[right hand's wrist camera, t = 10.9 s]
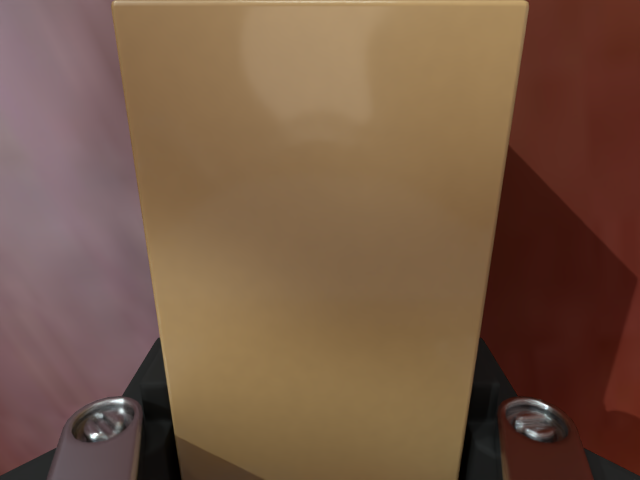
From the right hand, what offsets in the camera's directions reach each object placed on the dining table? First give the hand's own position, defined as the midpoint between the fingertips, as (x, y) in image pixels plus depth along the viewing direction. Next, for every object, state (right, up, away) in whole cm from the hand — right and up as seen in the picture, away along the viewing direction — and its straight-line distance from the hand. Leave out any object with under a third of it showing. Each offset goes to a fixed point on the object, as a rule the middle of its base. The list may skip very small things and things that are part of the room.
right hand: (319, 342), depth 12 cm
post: (0, -19, +9) cm, 21 cm away
